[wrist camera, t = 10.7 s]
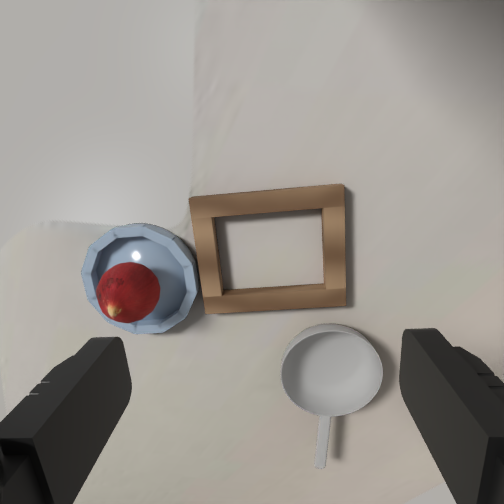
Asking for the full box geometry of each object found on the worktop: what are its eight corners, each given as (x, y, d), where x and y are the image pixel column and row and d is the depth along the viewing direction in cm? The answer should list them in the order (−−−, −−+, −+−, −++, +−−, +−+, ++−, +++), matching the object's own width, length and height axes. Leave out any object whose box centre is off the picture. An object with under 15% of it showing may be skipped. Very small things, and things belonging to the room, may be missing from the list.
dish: (81, 227, 36) (70, 231, 34) (190, 218, 35) (185, 222, 33) (105, 327, 39) (97, 336, 37) (205, 321, 38) (202, 330, 36)
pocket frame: (192, 196, 34) (188, 198, 33) (340, 183, 33) (344, 185, 31) (208, 307, 38) (205, 314, 36) (342, 299, 37) (346, 305, 35)
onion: (109, 286, 37) (66, 321, 29) (129, 242, 35) (89, 268, 28) (156, 311, 37) (126, 352, 30) (178, 269, 36) (152, 302, 28)
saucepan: (379, 317, 37) (391, 335, 33) (358, 445, 42) (366, 473, 39) (282, 311, 38) (284, 328, 34) (273, 438, 43) (273, 465, 39)
